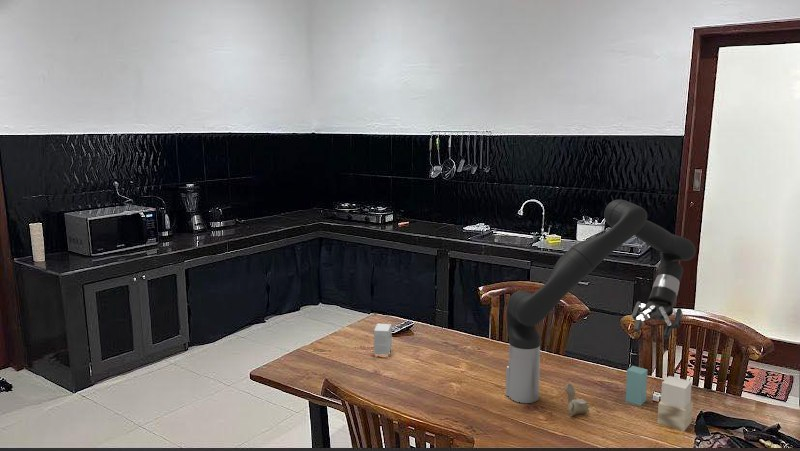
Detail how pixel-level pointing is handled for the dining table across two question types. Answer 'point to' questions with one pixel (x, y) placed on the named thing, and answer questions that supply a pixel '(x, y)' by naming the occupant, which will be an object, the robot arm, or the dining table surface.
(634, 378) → the teal block
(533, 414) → the dining table surface
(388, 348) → the small box
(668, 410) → the beech block
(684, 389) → the cream block
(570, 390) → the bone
